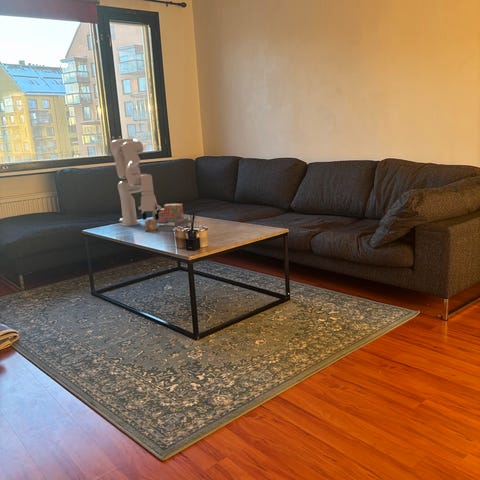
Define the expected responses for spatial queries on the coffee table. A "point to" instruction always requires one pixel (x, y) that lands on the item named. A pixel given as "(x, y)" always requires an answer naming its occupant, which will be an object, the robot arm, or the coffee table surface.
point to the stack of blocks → (170, 213)
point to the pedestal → (151, 225)
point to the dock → (173, 224)
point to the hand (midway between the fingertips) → (151, 219)
